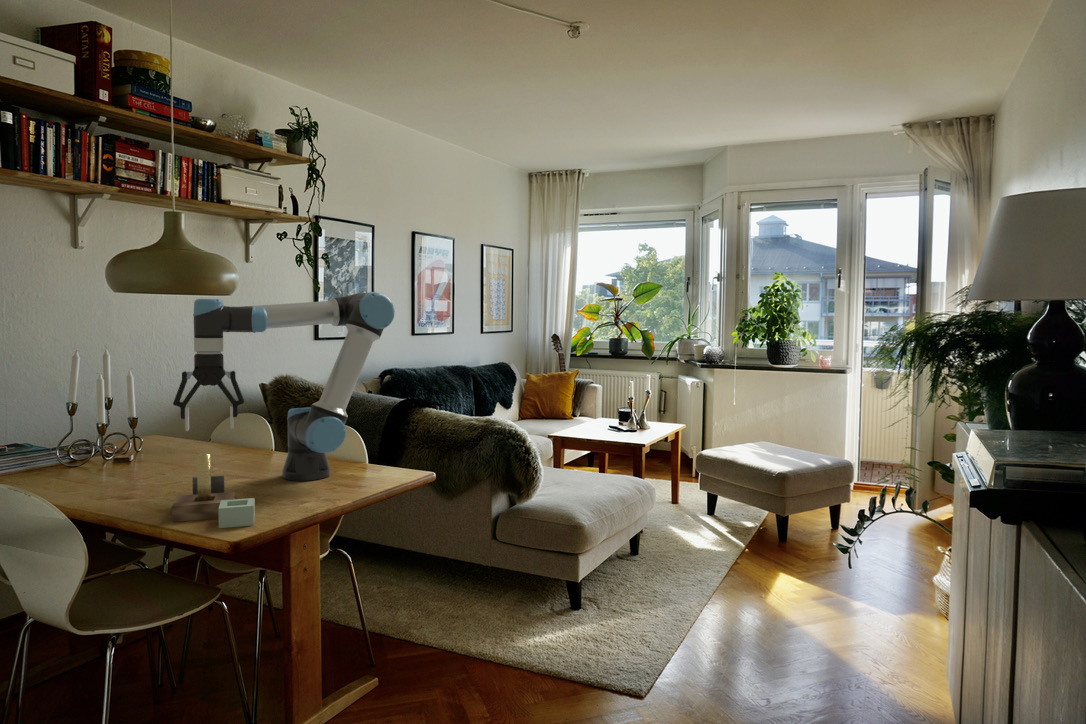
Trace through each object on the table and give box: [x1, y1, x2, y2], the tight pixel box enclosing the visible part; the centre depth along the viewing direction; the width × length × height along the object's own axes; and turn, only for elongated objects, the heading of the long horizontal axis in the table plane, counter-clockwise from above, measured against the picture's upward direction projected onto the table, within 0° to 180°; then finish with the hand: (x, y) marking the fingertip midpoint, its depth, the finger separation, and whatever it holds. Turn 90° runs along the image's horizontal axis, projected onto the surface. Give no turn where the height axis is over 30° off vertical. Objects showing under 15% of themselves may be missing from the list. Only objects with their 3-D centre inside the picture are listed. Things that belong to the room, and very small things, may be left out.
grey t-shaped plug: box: [192, 474, 226, 495], centre depth 188 cm, size 8×10×7 cm
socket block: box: [171, 491, 236, 523], centre depth 182 cm, size 14×11×4 cm
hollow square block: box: [218, 497, 256, 529], centre depth 174 cm, size 8×8×5 cm
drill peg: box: [196, 452, 212, 501], centre depth 181 cm, size 3×3×16 cm
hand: (209, 429), depth 196 cm, fingers open, 11 cm apart
